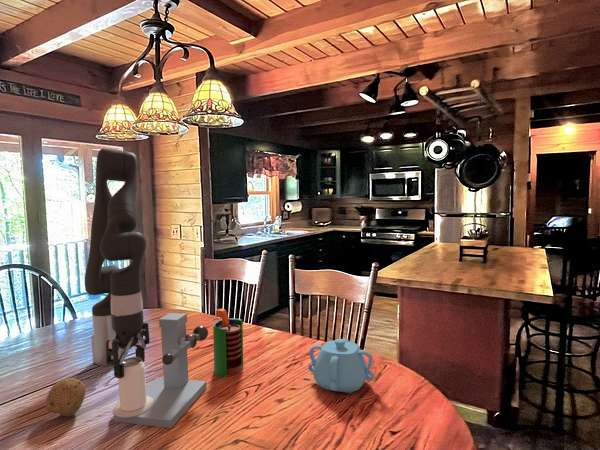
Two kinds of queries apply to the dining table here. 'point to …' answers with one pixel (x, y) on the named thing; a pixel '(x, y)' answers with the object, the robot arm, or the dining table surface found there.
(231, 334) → the motor
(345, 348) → the decorative pot
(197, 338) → the lever
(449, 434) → the dining table surface
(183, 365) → the press
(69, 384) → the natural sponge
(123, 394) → the can
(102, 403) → the dining table surface
